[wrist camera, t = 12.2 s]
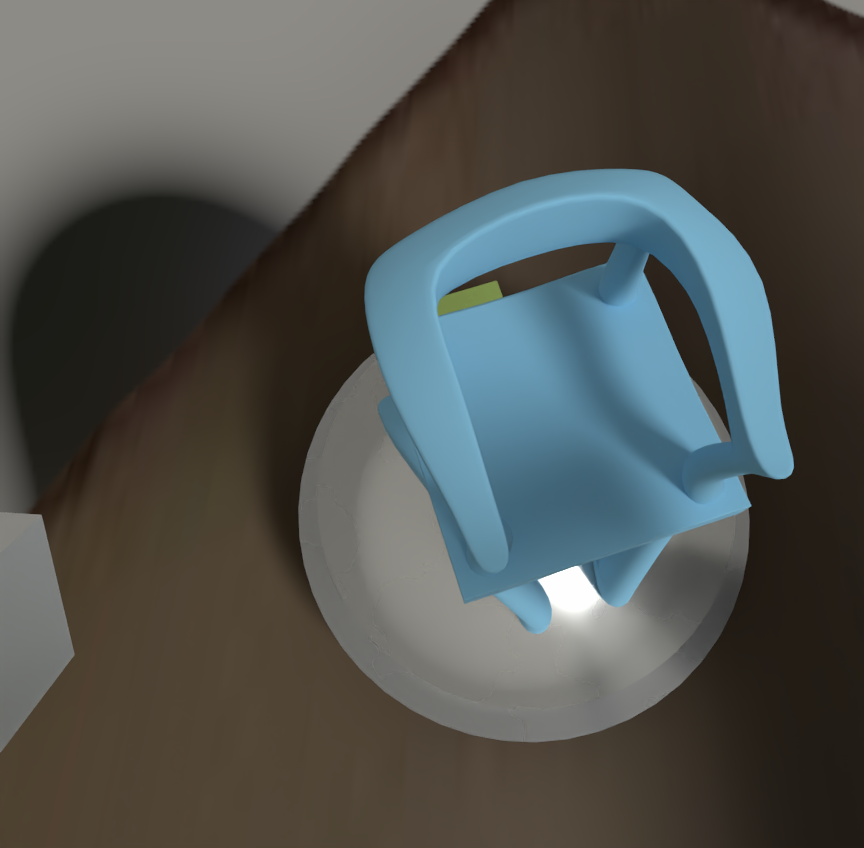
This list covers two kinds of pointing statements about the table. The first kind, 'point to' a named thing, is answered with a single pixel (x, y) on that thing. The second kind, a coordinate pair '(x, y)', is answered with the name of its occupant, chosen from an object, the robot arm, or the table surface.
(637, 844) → the table surface
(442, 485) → the chair
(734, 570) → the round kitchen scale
